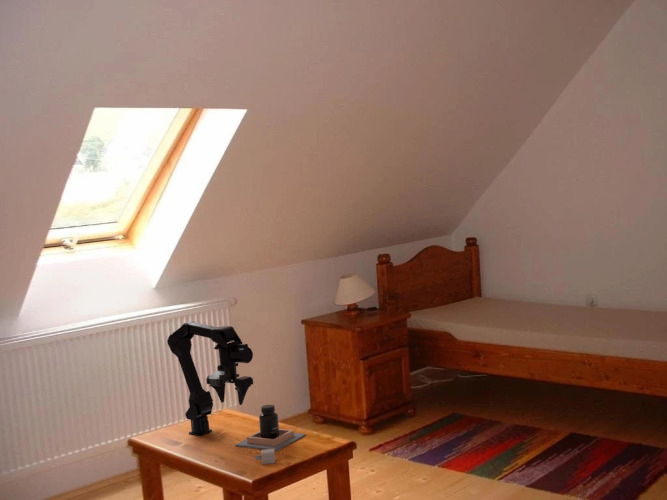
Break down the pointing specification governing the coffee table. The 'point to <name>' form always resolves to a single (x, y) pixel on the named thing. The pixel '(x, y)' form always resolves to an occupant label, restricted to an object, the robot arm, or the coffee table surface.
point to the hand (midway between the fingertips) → (231, 403)
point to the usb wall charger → (266, 456)
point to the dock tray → (271, 440)
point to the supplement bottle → (269, 422)
